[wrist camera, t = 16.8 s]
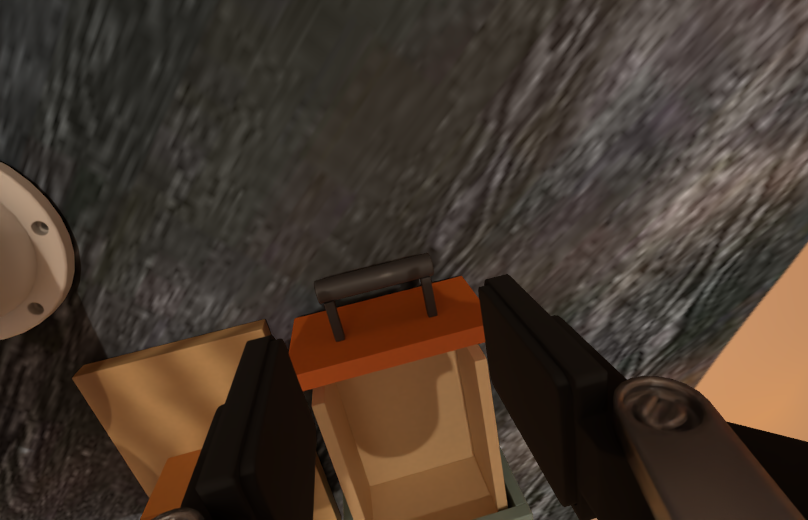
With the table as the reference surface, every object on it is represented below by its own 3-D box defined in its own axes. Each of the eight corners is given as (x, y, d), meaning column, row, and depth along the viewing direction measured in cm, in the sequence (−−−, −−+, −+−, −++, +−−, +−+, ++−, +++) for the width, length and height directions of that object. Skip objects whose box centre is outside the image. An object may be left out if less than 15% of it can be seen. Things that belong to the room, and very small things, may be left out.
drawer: (275, 266, 28) (259, 315, 21) (453, 222, 29) (488, 257, 22) (353, 486, 36) (358, 568, 30) (488, 446, 37) (520, 518, 31)
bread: (193, 501, 33) (157, 607, 26) (167, 457, 31) (121, 559, 24) (284, 475, 34) (272, 572, 27) (265, 431, 32) (246, 522, 25)
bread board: (202, 556, 37) (197, 574, 36) (83, 364, 29) (70, 377, 28) (341, 515, 38) (341, 530, 37) (265, 318, 30) (262, 328, 29)
